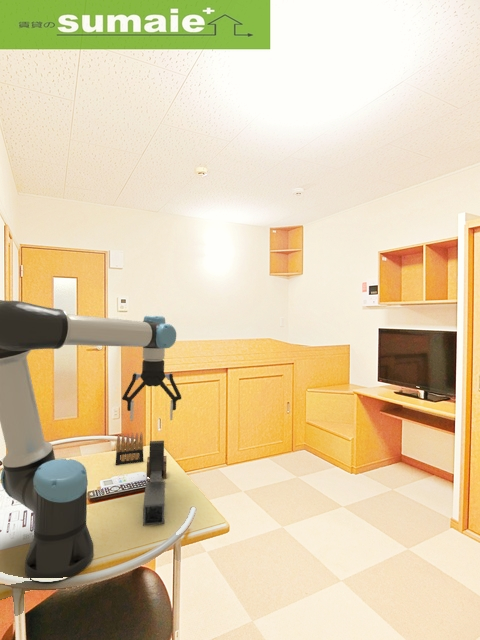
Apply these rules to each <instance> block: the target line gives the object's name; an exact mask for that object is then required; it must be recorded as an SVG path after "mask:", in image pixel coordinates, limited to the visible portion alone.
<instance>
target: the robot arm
mask: <svg viewBox="0 0 480 640" xmlns="http://www.w3.org/2000/svg"><path fill="white" fill-rule="evenodd" d="M176 341H177V330H176V328H175V327H174V326H173V325H172V324H168V323H166V318H165V317H164V316H162V315H161V316H160V315H145V316H144V317H143V320H141V321H139V320H128V319H119V318H109V317H98V316H89V315H80V314H70V313H66V311H65V310H64V309H61V308H60V309H59V308H52V307H46V306H42V305H38V304H33V303H30V302H25V301H20V300H1V299H0V427H1V432H2V435H3V439H4V443H5V444H4V445H5V448H6V452H7V453H6V455H5V456H4V457H3V458H2V466H3V468H2V470H1V473H0V483H1V486H2V488H3V490H4V491H5V493H6V494H7V495H8V496H9V497H10V498H12V499H13V500H15V501H17V502H18V503H20V504H21V505H23V506H24V507H25V508H27V509H29V510H30V511H31V512H33V536H32V540H31V543H30V545H29V548H28V551H27V553H26V556H25V563H24V572H25V575H26V577H27V578H28V577H30V578H63V577H70V578H72V577H74V576H76V575H78V574H80V572H83V570H85V569H86V568H87V567H88V565H90V564H91V562H92V560H93V558H94V541H93V538H92V536H91V534H90V531H89V528H88V525H87V509H88V508H87V507H88V506H87V505H88V504H87V503H88V499H87V498H88V485H89V482H88V481H89V480H88V475H87V469H86V467H85V465H84V464H83V463H81V462H80V461H78V460H75V459H71V458H70V459H67V458H58V459H56V458H55V451H54V447H53V444H52V443H51V442H49V441H46V440H45V438H44V437H45V436H44V433H43V428H42V423H41V418H40V413H39V409H38V404H37V399H36V396H35V392H34V391H35V389H34V386H33V383H32V382H33V381H32V377H31V373H30V368H29V364H28V363H29V362H28V357H27V356H28V355H29V354H30V353H31V352H32V351H34V350H45V349H46V350H51V349H52V350H59V349H61V348H62V347H63V346H95V347H96V346H97V347H98V346H99V347H131V348H132V347H137V348H142V359H143V360H142V365H141V366H142V367H141V368H142V370H141V373H137V372H134V373H133V374H132V378H131V379H132V380H131V381H130V383H129V385H128V387H127V388H126V390H125V392H124V393H123V396H122V397H121V400H122V401H126V404H127V409H126V410H127V412H130V417H129V418H130V419H129V421H130V422H133V421H134V406H135V405H134V404H135V403H134V402H135V400H133V399H134V398H136V396H137V395H138V394H139V393H140V392H141V391H142V390H143V388H144V387H145V386H147V387H159V386H160V387H161V388H162V389H163V390H164V392H165V393H166V395H168V396H169V398H170V412H169V413H170V414H169V420H170V421H173V414H174V413H173V411H176V409H177V402H178V401H179V400H182V394H181V393H180V390H179V388H178V386H177V384H176V381H175V380H174V375H173V373H172V372H169V373H165V360H164V359H165V357H166V356H165V351H166V349H170V348H171V347H172V346H174V345H175V343H176ZM139 378H140V379H141V383H140V385H139V386H138V387H136V389H134V391H133V392H132V393H131V394H130V392H131V390H132V388H133V387H134V385H135V382H136V381H138V380H139ZM165 378H166V379H167V380H168V381H169V382H170V384H171V387H172V389H173V391H174V393H175V394H176V396H175V395H174V393H173V392H172V391H171V390H170V388H169V387H168V386H167V385H166V383H165V382H164V380H165ZM129 394H130V396H129Z"/></svg>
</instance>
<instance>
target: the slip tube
mask: <svg viewBox="0 0 480 640" xmlns="http://www.w3.org/2000/svg"><path fill="white" fill-rule="evenodd" d="M148 454H149V456H148V457H149V471H151V475H150V479H149V482H161V481H163V479H162V471H164V456H165V440H149V453H148Z"/></svg>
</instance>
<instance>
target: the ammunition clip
mask: <svg viewBox="0 0 480 640" xmlns="http://www.w3.org/2000/svg"><path fill="white" fill-rule="evenodd" d="M134 436H135V437H134ZM143 438H144V437H143V433H142V432H140V434H139V433H138V432H136V433H135V435H134V433H133V432H132V433H131V437H130V434H129V433H127V435H126V438H125V434H124V433H122V435H121V436H120V434H117V438H116V444H115V446H116V449H115V465H116V466H120V465H128V464H129V465H130V464H138V463H144V439H143ZM125 440H126V441H125Z"/></svg>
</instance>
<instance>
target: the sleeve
mask: <svg viewBox="0 0 480 640" xmlns="http://www.w3.org/2000/svg"><path fill="white" fill-rule="evenodd" d="M165 490H166V482H165V481H163V480H162V481H161V482H150V481H149V482H148V481H147V482H145V489H144V498H143V503H142V504H143V505H142V506H143V508H142V511H143V513H142V516H143V517H142V518H143V519H142V527H143V526H155V525H165V510H166V509H165V506H166V505H165V501H166V500H165V499H166V498H165V496H166V494H165V493H166V491H165Z"/></svg>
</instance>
